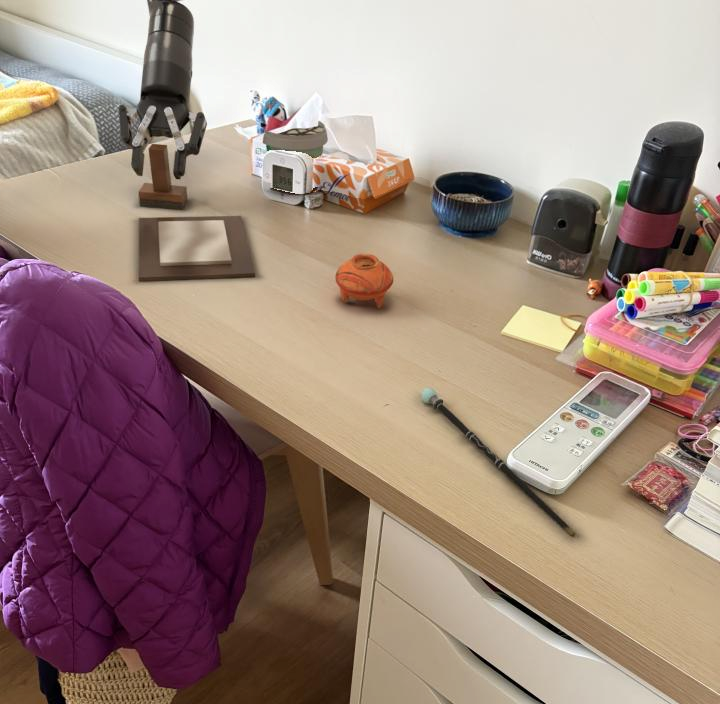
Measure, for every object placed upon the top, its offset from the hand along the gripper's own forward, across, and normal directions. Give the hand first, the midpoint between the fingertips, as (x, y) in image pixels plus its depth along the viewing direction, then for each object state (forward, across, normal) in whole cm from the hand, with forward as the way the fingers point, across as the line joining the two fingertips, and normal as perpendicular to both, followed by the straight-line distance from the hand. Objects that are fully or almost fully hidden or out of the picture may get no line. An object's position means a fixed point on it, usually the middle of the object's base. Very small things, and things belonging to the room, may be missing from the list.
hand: (157, 175), depth 114 cm
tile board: (+13, +8, -6) cm, 17 cm away
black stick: (+45, +49, -37) cm, 76 cm away
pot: (+22, +34, -14) cm, 43 cm away
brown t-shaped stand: (+2, 0, +5) cm, 5 cm away
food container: (-5, +22, +13) cm, 26 cm away
